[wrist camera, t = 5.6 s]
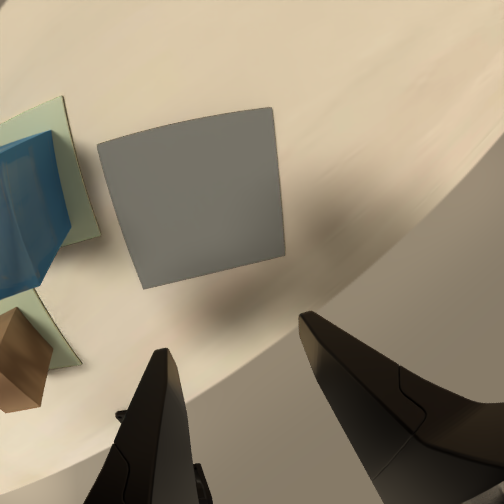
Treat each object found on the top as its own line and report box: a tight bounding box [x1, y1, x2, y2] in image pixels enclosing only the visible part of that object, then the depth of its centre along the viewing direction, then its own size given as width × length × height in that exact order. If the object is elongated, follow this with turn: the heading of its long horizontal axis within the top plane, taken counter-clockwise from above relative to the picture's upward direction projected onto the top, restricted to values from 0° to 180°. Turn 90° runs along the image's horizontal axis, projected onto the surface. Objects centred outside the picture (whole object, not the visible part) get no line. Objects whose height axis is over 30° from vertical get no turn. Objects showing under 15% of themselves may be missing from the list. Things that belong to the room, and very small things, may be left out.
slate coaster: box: [97, 107, 285, 289], centre depth 18 cm, size 10×10×1 cm
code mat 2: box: [0, 288, 82, 369], centre depth 19 cm, size 9×9×1 cm
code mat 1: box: [0, 96, 101, 247], centre depth 14 cm, size 9×9×1 cm
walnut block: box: [0, 307, 53, 413], centre depth 17 cm, size 5×5×6 cm
